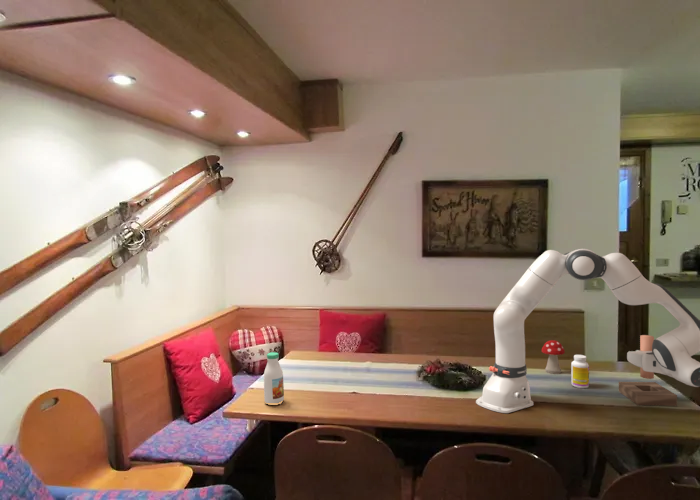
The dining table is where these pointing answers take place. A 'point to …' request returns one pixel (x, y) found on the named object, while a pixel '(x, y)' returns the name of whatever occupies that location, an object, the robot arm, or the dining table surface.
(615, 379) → the dining table surface
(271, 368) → the milk bottle
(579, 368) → the supplement bottle
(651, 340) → the peg
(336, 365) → the dining table surface
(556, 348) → the decorative mushroom
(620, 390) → the socket
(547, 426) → the dining table surface
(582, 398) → the dining table surface
